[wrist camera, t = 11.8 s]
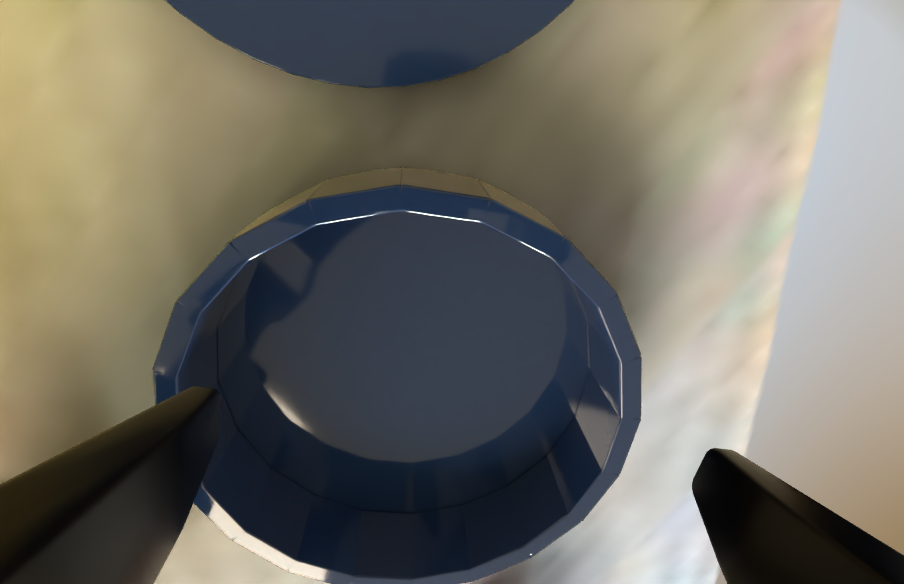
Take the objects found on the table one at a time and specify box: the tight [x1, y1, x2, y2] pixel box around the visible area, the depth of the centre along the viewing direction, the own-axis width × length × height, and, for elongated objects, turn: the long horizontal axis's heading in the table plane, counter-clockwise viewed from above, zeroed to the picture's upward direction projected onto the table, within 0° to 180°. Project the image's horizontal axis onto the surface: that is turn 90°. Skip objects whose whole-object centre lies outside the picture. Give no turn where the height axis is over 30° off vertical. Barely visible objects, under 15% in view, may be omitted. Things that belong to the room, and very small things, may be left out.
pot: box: [153, 167, 641, 584], centre depth 19 cm, size 17×17×4 cm
